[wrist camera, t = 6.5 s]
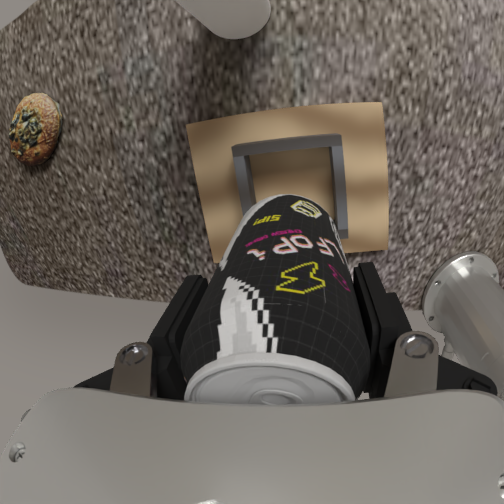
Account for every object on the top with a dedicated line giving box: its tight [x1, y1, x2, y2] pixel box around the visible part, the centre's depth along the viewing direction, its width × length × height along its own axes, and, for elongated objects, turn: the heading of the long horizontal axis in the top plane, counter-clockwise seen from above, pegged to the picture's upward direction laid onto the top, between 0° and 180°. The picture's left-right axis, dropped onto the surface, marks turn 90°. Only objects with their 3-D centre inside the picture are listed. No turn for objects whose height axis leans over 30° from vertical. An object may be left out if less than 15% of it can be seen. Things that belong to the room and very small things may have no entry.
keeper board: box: [186, 102, 389, 263], centre depth 30 cm, size 16×20×4 cm
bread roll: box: [9, 93, 62, 166], centre depth 31 cm, size 11×11×5 cm
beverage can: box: [180, 194, 370, 405], centre depth 12 cm, size 6×6×12 cm
